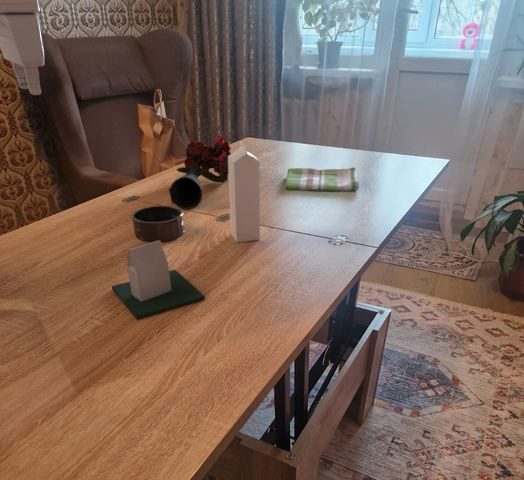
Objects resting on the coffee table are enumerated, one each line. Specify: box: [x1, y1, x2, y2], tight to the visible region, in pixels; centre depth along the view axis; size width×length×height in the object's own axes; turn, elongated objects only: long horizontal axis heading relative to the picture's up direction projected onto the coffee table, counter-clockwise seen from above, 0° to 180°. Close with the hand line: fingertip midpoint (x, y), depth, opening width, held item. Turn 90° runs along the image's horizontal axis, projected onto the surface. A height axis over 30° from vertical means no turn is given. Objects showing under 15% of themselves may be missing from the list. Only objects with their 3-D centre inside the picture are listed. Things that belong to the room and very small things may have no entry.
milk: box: [228, 140, 261, 243], centre depth 114 cm, size 6×6×22 cm
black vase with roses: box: [168, 134, 232, 211], centre depth 147 cm, size 16×18×35 cm
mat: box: [111, 269, 206, 320], centre depth 96 cm, size 14×14×1 cm
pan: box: [131, 205, 185, 243], centre depth 121 cm, size 12×12×5 cm
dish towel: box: [284, 166, 360, 191], centre depth 156 cm, size 17×23×4 cm
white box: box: [126, 240, 171, 302], centre depth 92 cm, size 4×7×10 cm, turn 132°
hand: (30, 91), depth 90 cm, fingers open, 8 cm apart
